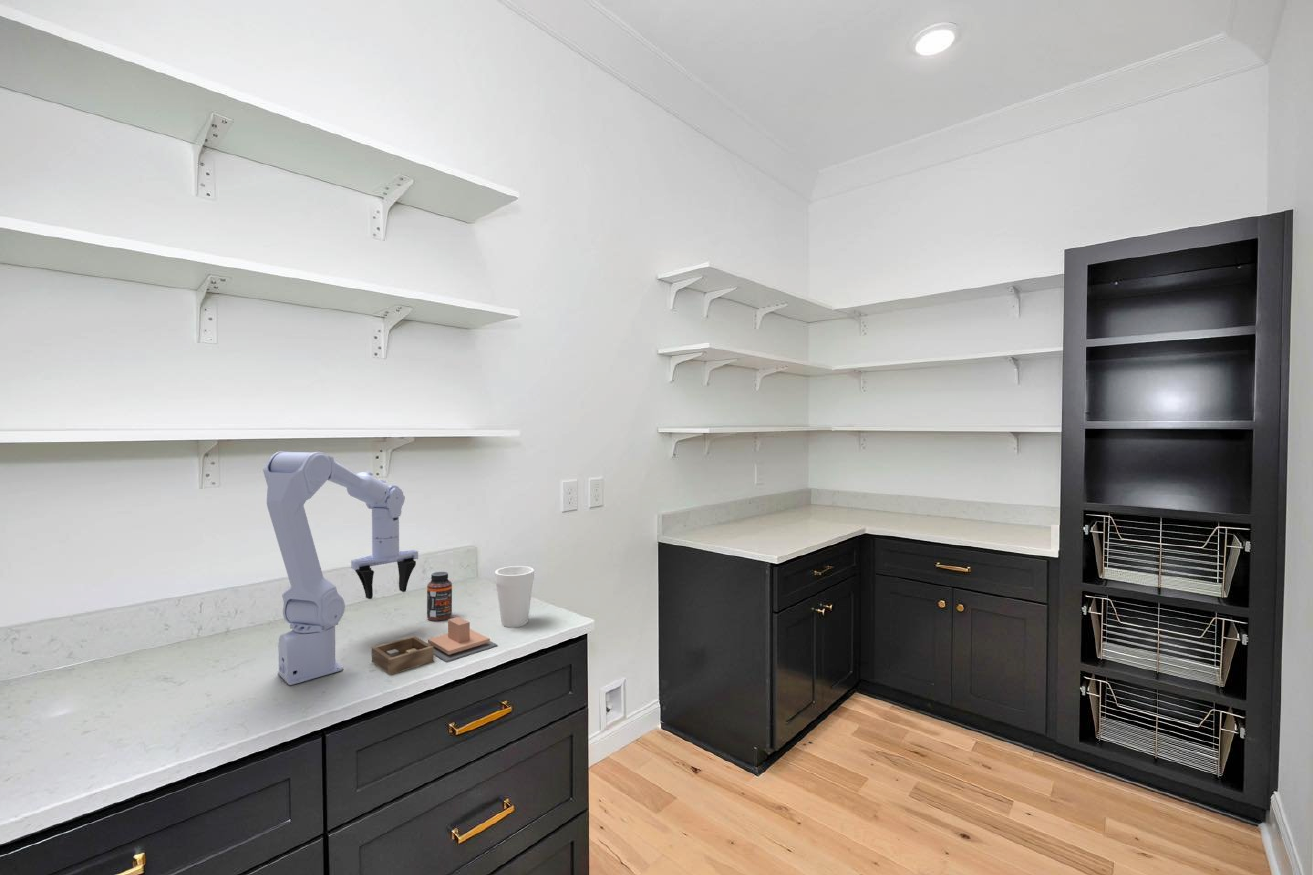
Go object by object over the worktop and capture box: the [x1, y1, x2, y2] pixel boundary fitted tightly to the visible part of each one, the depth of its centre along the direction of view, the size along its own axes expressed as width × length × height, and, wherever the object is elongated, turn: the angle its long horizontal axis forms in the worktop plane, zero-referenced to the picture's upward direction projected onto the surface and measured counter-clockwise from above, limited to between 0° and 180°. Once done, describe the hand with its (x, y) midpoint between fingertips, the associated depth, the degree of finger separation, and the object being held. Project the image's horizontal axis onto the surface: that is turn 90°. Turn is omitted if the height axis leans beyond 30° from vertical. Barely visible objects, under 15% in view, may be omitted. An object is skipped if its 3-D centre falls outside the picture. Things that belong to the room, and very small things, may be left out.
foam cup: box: [494, 565, 535, 628], centre depth 143 cm, size 10×9×13 cm
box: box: [371, 635, 435, 676], centre depth 120 cm, size 9×9×3 cm
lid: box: [427, 616, 491, 655], centre depth 128 cm, size 10×10×5 cm
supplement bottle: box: [426, 571, 453, 622], centre depth 147 cm, size 6×6×11 cm
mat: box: [427, 640, 498, 663], centre depth 128 cm, size 12×12×1 cm
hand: (386, 594), depth 135 cm, fingers open, 7 cm apart
